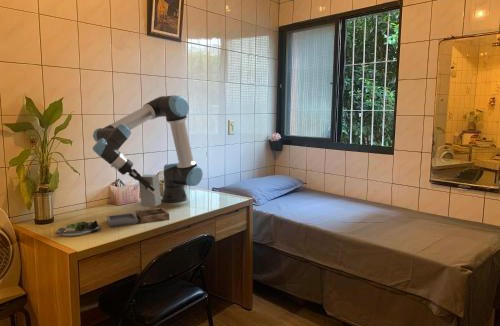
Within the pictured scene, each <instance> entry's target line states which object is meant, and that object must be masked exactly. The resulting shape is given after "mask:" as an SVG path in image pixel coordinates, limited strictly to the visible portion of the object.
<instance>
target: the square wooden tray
mask: <svg viewBox="0 0 500 326" xmlns="http://www.w3.org/2000/svg"><path fill="white" fill-rule="evenodd" d="M135 216H136V217H137V218H138V222H140V224H144V223H152V222H153V223H154V222H160V221H167V220H168V221H169V220H170V213H169V212H168V211H167V210H166V209H165V208H164V207H158V208H156V207H155V208H149V209H140V210H135Z"/></svg>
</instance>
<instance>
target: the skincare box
mask: <svg viewBox="0 0 500 326" xmlns="http://www.w3.org/2000/svg"><path fill="white" fill-rule="evenodd" d="M141 177H142V178H143V179H145V180H146V181H147V182H148V183H150V184H151V185H152V186H153V187H155V188H156V189H157V190H158V191H159V192H160V193H159V195H158V196H156V195H154V194H153V193H152V192H151V191H150V190H148V189H145V188H146V187H145V186H144V185H143V184H142V183H140V182H139V181H138V185H139V195H140V204H141V205H140V206H141V207H157V206H160V205H162V195H161V187H160V177H159V173H158V174H143V175H141ZM148 183H147V184H148ZM147 184H146V185H147Z"/></svg>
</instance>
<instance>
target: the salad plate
mask: <svg viewBox="0 0 500 326" xmlns="http://www.w3.org/2000/svg"><path fill="white" fill-rule="evenodd" d="M65 230H66V231H65ZM100 230H101V225H99V223H98V221H97V220H96V219H95V220H94V221H78V222H75V223H71V224H67V225H65V226H60V227H59V228H58V229H57V230H56V233H55V236H63V237H78V236H79V235H80V236H83V235H88V234H91V233H96V232H98V231H100ZM64 231H65V232H64Z"/></svg>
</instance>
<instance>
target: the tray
mask: <svg viewBox="0 0 500 326" xmlns="http://www.w3.org/2000/svg"><path fill="white" fill-rule="evenodd" d="M106 222H107V225H108V226H109V228H116V227H123V226H125V227H126V226H130V225H138V224H139V220H138V218H137V217H136V213H134V212H130V213H129V212H128V213H121V214H119V213H118V214H113V215H107V216H106Z"/></svg>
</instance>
